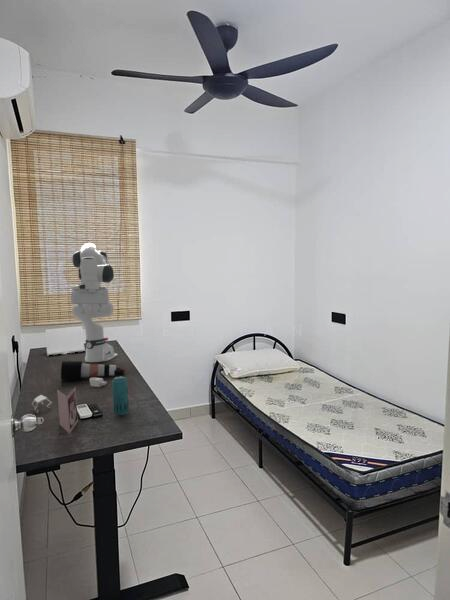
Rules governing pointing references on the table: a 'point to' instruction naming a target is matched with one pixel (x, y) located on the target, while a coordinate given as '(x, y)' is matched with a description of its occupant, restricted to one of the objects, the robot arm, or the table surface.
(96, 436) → the table surface
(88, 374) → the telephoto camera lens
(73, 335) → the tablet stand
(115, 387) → the beverage bottle
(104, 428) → the table surface
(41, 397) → the origami figure
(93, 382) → the usb plug
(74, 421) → the greeting card
